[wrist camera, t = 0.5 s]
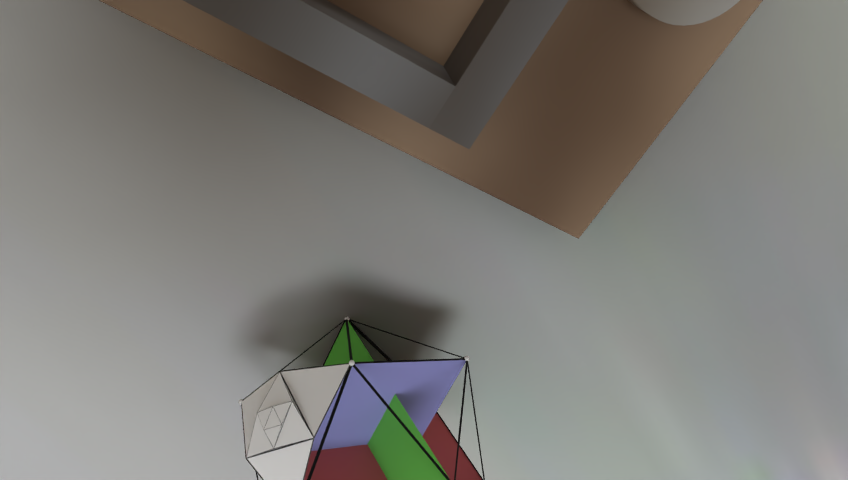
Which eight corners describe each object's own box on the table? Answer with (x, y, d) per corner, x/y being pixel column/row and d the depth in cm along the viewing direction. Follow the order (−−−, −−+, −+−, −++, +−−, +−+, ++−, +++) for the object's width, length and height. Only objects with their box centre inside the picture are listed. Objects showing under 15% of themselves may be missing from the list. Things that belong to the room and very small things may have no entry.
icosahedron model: (559, 375, 24) (472, 518, 17) (464, 518, 27) (355, 692, 20) (377, 253, 25) (227, 337, 18) (305, 400, 28) (152, 522, 21)
